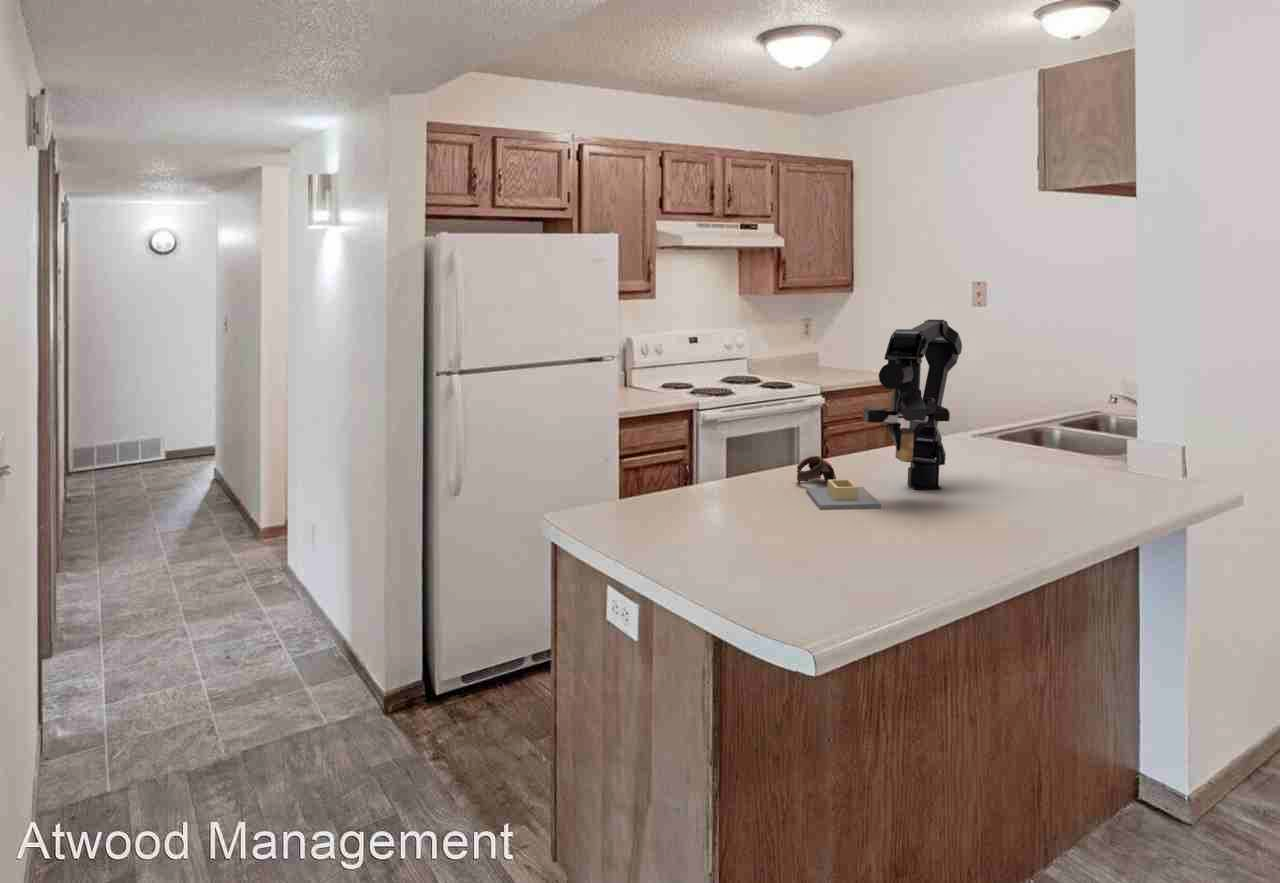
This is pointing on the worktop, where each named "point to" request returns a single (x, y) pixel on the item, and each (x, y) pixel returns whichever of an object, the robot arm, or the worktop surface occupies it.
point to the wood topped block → (905, 445)
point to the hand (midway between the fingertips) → (904, 450)
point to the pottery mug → (815, 469)
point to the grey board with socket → (842, 496)
